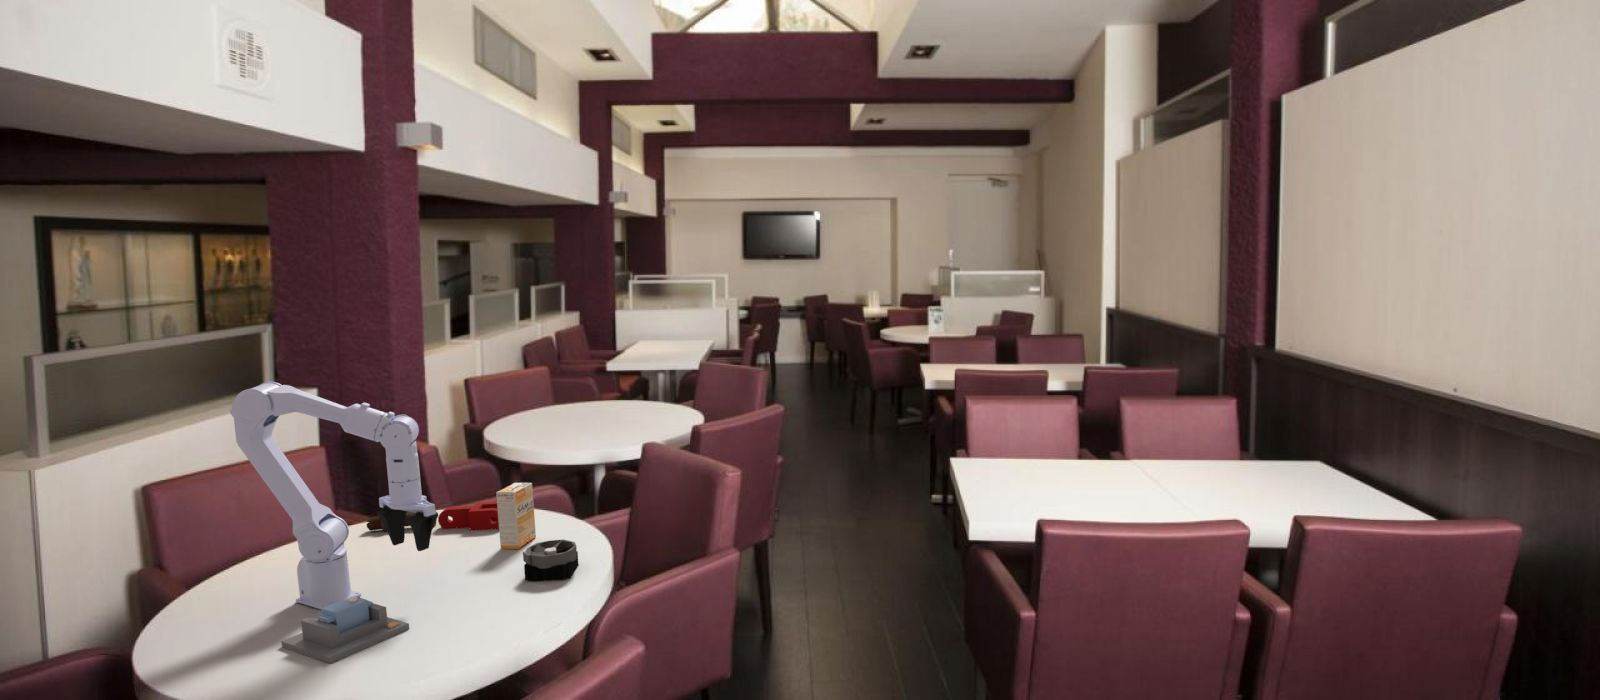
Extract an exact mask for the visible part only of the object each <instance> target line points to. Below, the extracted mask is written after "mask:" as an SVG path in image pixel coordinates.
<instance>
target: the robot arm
mask: <svg viewBox="0 0 1600 700" xmlns="http://www.w3.org/2000/svg"><path fill="white" fill-rule="evenodd" d="M370 406H371V404H370V403H367V402H363V403H361V404H359V403H354V404H352V405H349V406H346V405H342V404H339V403H336V402H334V401H331V400H328V399H326V398H323V397H320V396H317V395H315V394H312V393H309V392H307V391H304V390H301V389H298V388H296V387H294V386H292V385H289V384H283V385H282V384H281V383H279V382H275V381H265V382H262V383H261V384H259V385H256V386H254V387H252V388H247V389H245V390H242V391H241V392H239V393H238V394H237V395H236V397H235V399H234V401H233V403H232V406H231V408H230V411H229V413H230V415H231V416H232V418H233V422H234V432H235V434H234V435H235V441H236V444H237V446H238V447H239V449H240V450H241V452H243V454H244V456H245V457H246V458H247V460H248V461H249V462H250V464H251V465H252V466H253V467H254V469H255V471H256V472H257V473H258V475H259V476H260V478H261V479H262V480H263V482H264V483H265V484H266V486H267V487H268V488H269V490H270V492H271V493H272V494H273V496H274V497H275V499H277V501H278V503H279V504H280V505H281V506H282V507H283V509H284V511H285V512H286V513H287V514H288V515H289V518H290V519H291V520H292V535H293V536H294V537H295V539H296V540H297V544H298V550H299V553H300V555H301V556H302V557H301V558H300V560H299V561H298V564H297V566H296V567H297V568H296V574H297V575H296V576H297V582H298V593H299V597H298V598H296V599H295V602H296V603H299V604H302V605H305V606H308V607H310V608H311V607H312V608H315V609H318V610H321V611H322V608H325V607H327V606H330V605H332V604H335V603H338V602H340V601H343V600H345V599H348V598H350V597H353V596H356V597H359V598H360V597H361V596H362V593H360V592H357V591H354V590H351V589H352V587H351V581H350V580H351V578H350V571H349V570H350V569H349V562H348V561H349V560H348V551H347V550H348V549H347V547H346V545H345V542H346V540H347V539H348V537H349V533H350V529H349V525H348V523H347V521H345V520H344V519H343V518H341V517H339V516H338V515H336V514H335V513H334V512H333V511H332V509H331V508H330V507H328V506H326V505H324V504H321V503H319V501H318V499H316V497H315V495H314V493H313V492H312V491H311V490H310V488H309V487H308V485H307V484H306V483H305V481H304V480H303V479H302V477H301V476H300V474H299V473H298V472H297V470H296V469H295V468H294V466H293V464H291V462H290V460H289V459H288V458H287V456H286V455H285V453H284V452H283V451H282V449H281V448H280V446H279V445H278V444H277V443H276V441H275V440H274V437H272V434H273V431H274V429H275V427H276V426H275V425H276V424H277V423H276V422H277V419H279V417H280V416H284V415H288V414H292V413H299V414H302V415H306V416H311V417H314V418H318V419H322V420H325V421H330V422H333V423H337V424H339V425H340V426H341V428H342V430H343V431H344V432H345V433H348V434H349V435H350V434H351V435H353V436H358V437H361V438H363V439H367V440H370V441H373V442H376V443H379V442H380V445H381V446H382V447H383V448H384V449H385V461H386V471H387V473H386V474H387V481H388V493H389V494H388V495H385V496H381V497H379V498H378V505H379V508H382V510H380V511H377V512H376V513H377V514H376V515H377V516H378V517H379V518H380V519H381V521H382V522H383V524H384V525H385V527H386V529H387V531H388V532H387V533H388V536H389V539H390V541H391V544H392V546H397V545H398V546H399V545H400V544H404V543H405V539H406V538H405V534H406V533H405V532H406V531H405V527H404V524H405V516H406V513H410V512H412V513H413V512H414V513H416V515H414V516H411V517H408V518H407V521H408V522H409V524H410V526H409V527H410V528H411V530H412V533H413V538H414V543H415V547H416V550H417V552H422V551H425V550H428V549H429V548H430V543H431V538H432V532H433V528H434V527H433V526H434V524H435V521H436V519H437V520H438V517H439V512H437V511H436V512H435V509H436V505H435V504H434V503H431V502H429V501H428V499H427V496H426V495H423V494H422V493H423V492H422V485H421V484H422V483H421V472H420V459H419V453H418V445H417V440H416V439H417V437H418V436H419V433H420V428H419V424H418V422H417V421H416V420H415V419H414V418H413V417H411V416H408V415H407V414H398V415H395V412H394V411H389V412H385V411H381V410H378V409H376V408H372V407H370ZM377 516H376V517H377ZM436 522H437V521H436Z"/></svg>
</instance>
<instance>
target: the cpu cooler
mask: <svg viewBox="0 0 1600 700" xmlns="http://www.w3.org/2000/svg"><path fill="white" fill-rule="evenodd" d="M578 554H579V552H578V551H577V543H576V542H575V541H571V540H567V539H554V540H552V539H551V540H547V541H541V542H536V543H534V544H532V545H531V546H529V547H527V548H526V550H525V551H523V552H522V558H523V562H524V565H523V570H524V580H525V581H528V582H542V580H543V582H545V581H544V580H546V582H548V581H549V582H551V581H552V580H554V581H555V580H557V581H565V580H566V579H572V577H573V575H574V573H575V572H574V571H576V570H577V569H578V567H579V555H578ZM577 566H578V567H577ZM571 576H572V577H571ZM526 579H528V580H526ZM530 580H531V581H530Z"/></svg>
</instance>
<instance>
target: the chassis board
mask: <svg viewBox="0 0 1600 700" xmlns="http://www.w3.org/2000/svg"><path fill="white" fill-rule="evenodd" d="M368 608H369V618H370V621H368V622H365V623H363V624H361V625H358V626H356V627H353V628H351V629H349V630H346V631H344V632H341V633H339V626H336V625H333V624H329V623H326V622H323V621H320V620H318V618H317V619H316V618H314V617H310V616H309V617H306V618H304V619H301V620H300V623H301V631H302V632H299V634H296V635H294V636H291V637H288V638H286V639H283V640H281V641H280V642H281V647H282V648H284V649H288V650H290V651H293V652H297V653H299V654H302V655H304V656H307V657H310V658H313V659H316V660H319V661H321V662H324V663H326V664H333V663H335V662H337V661H339V660H341V659H344V658H346V657H348V656H350V655H353V654H355V653H357V652H359V651H362V650H364V649H367V648H369V647H371V646H373V645H375V644H377V643H380V642H382V641H385V640H387V639H390V638H391V637H394V636H396V635H398V634H401V633H402V632H405V631H408V630H410V624H409V622H405V621H402V620H399V619H395V618H392V617H389V616H388V614H387V612H388V611H387V607H386V606H384V605H380V604H376V603H373V605H372V606H370V607H368Z"/></svg>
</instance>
